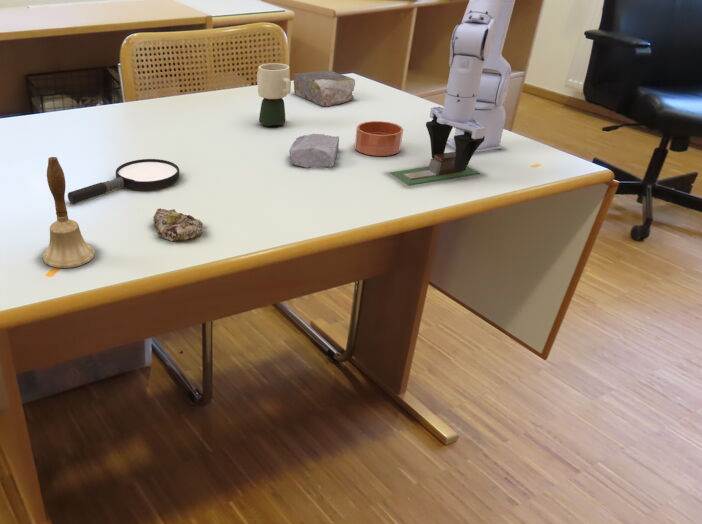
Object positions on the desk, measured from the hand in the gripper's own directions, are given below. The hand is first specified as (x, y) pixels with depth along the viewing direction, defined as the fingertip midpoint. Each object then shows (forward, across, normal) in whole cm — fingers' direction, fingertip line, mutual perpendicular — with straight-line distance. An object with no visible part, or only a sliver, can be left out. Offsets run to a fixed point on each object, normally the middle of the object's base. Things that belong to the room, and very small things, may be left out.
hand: (448, 164), depth 136 cm
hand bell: (+2, +9, -77) cm, 78 cm away
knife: (+2, 0, -3) cm, 4 cm away
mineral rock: (+2, +6, -58) cm, 59 cm away
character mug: (+2, -41, -20) cm, 46 cm away
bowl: (+2, -16, -6) cm, 18 cm away
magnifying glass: (+2, -16, -62) cm, 64 cm away
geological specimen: (+2, -57, +2) cm, 57 cm away
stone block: (+2, -17, -21) cm, 27 cm away
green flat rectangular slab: (+2, 0, -3) cm, 3 cm away
